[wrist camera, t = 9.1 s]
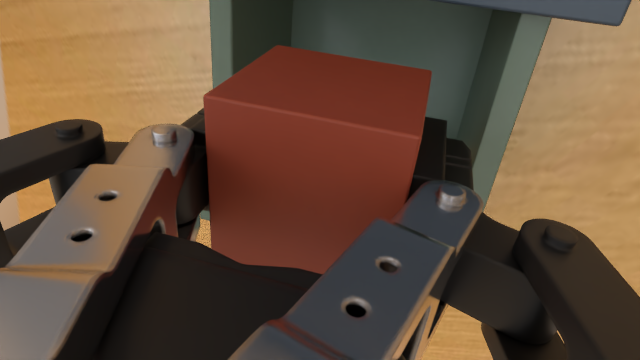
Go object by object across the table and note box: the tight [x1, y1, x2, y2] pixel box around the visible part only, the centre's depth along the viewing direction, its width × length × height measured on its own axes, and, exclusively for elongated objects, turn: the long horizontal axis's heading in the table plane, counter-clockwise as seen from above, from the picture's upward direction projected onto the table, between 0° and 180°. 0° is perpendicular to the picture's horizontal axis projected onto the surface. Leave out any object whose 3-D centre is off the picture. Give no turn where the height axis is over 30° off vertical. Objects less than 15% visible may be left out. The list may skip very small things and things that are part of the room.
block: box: [204, 45, 432, 274], centre depth 11 cm, size 4×4×4 cm
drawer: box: [200, 0, 552, 221], centre depth 18 cm, size 17×11×8 cm
